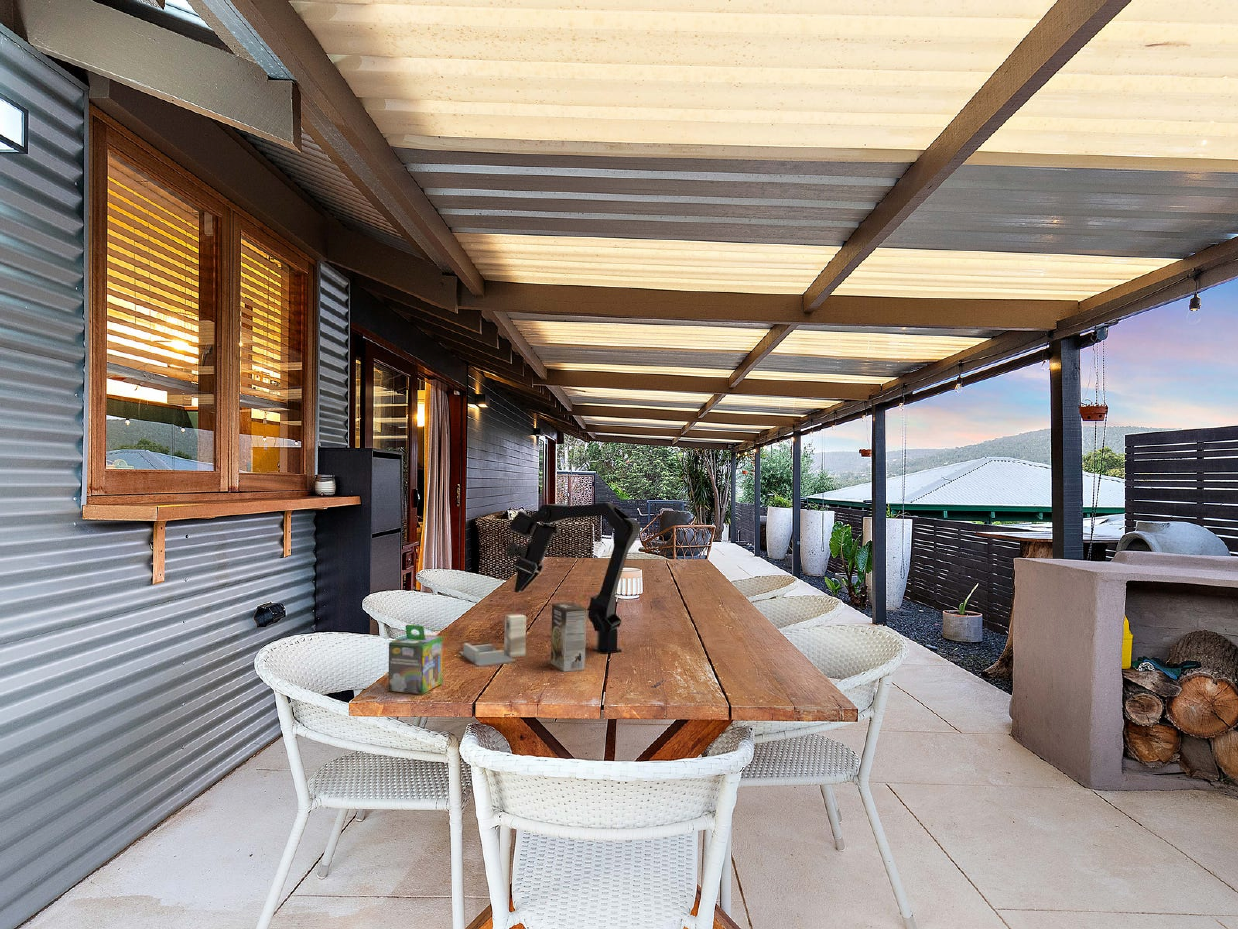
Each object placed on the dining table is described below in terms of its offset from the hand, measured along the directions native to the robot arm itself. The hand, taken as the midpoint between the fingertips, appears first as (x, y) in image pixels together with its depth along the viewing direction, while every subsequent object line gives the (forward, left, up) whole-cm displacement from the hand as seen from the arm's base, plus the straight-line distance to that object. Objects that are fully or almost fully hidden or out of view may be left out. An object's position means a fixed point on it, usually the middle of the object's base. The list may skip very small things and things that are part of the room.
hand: (518, 591), depth 203 cm
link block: (-11, +5, -16) cm, 20 cm away
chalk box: (-29, +38, -16) cm, 50 cm away
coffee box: (-29, -2, -16) cm, 33 cm away
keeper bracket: (-10, +14, -16) cm, 23 cm away
